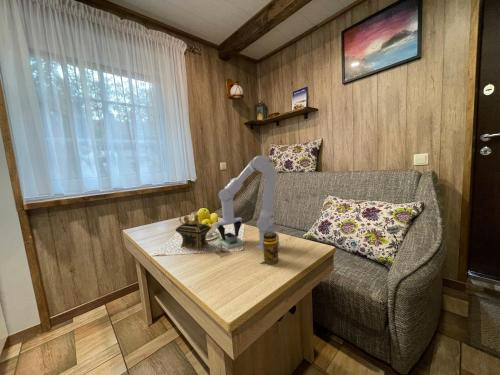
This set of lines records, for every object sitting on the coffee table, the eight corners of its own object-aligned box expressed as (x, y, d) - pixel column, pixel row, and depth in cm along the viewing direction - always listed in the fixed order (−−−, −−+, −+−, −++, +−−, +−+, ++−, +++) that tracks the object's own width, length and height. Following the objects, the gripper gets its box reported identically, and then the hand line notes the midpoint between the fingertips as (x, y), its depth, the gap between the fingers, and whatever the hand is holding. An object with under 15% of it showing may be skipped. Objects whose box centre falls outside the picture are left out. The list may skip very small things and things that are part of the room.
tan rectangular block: (233, 254, 98) (232, 246, 98) (221, 258, 95) (220, 250, 95) (224, 248, 106) (223, 241, 106) (213, 252, 103) (212, 244, 102)
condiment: (275, 267, 85) (273, 238, 83) (256, 263, 89) (254, 235, 88) (282, 259, 91) (280, 231, 90) (264, 256, 95) (262, 229, 94)
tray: (244, 244, 109) (244, 241, 109) (228, 250, 104) (227, 246, 104) (233, 238, 120) (232, 235, 120) (217, 242, 115) (217, 239, 115)
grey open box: (237, 243, 110) (237, 236, 109) (230, 246, 108) (229, 238, 107) (230, 239, 117) (229, 232, 117) (222, 241, 115) (222, 234, 114)
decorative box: (213, 244, 112) (210, 208, 110) (200, 252, 104) (196, 212, 101) (185, 240, 122) (182, 206, 120) (172, 246, 114) (167, 210, 111)
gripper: (236, 208, 117) (238, 232, 119) (211, 213, 110) (214, 239, 111) (243, 210, 111) (245, 235, 113) (217, 216, 104) (220, 243, 105)
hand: (230, 237), depth 112 cm, fingers open, 7 cm apart
